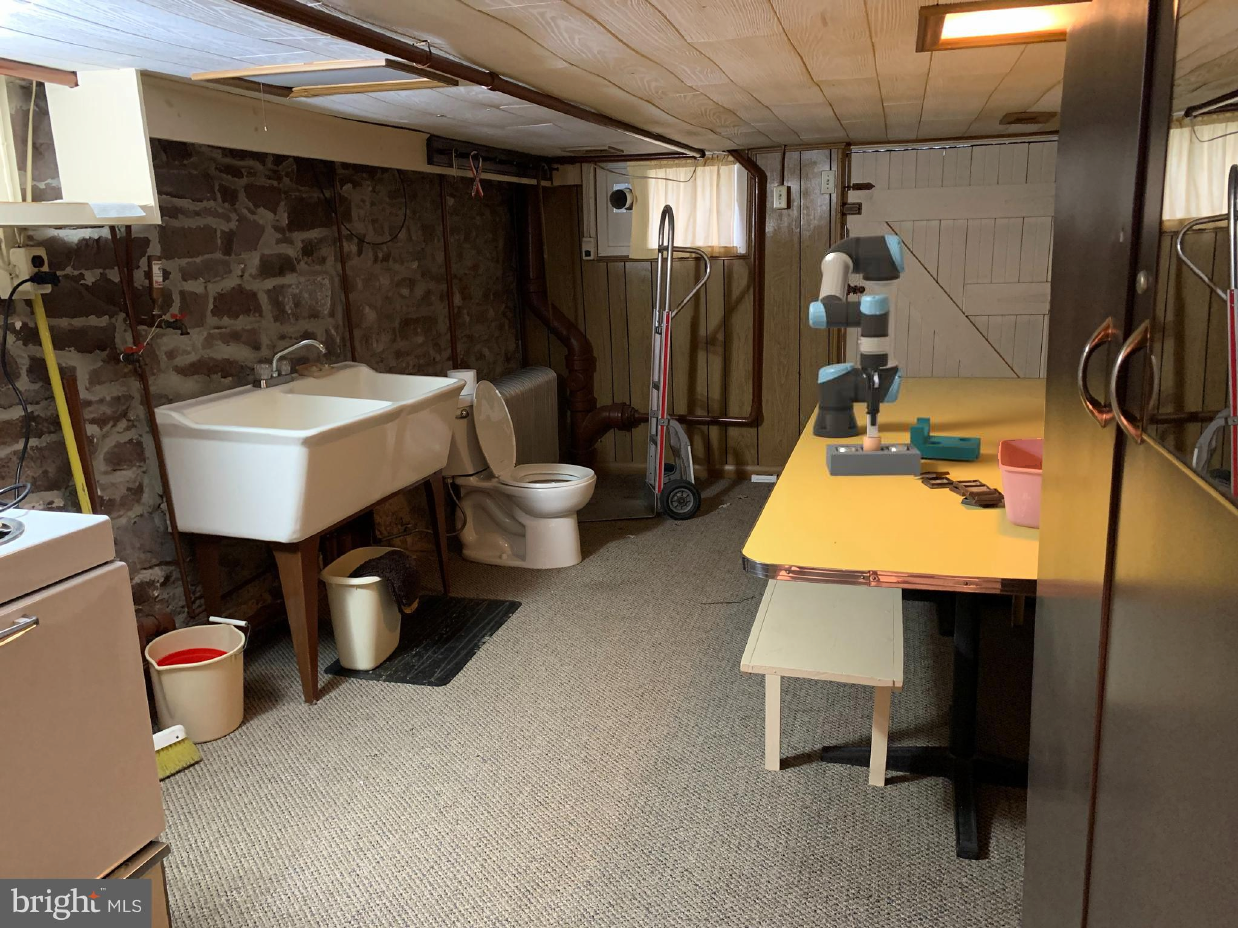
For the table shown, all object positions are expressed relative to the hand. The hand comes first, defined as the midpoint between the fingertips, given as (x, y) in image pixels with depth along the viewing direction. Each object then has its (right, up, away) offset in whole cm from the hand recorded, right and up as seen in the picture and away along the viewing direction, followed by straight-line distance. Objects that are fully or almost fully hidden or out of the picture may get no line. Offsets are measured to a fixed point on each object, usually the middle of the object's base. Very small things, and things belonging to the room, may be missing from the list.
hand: (872, 436), depth 263 cm
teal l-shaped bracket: (+25, -6, +14) cm, 29 cm away
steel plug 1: (-7, -9, +3) cm, 11 cm away
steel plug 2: (+7, -9, +1) cm, 11 cm away
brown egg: (0, -6, +2) cm, 6 cm away
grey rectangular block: (0, -9, +2) cm, 10 cm away
